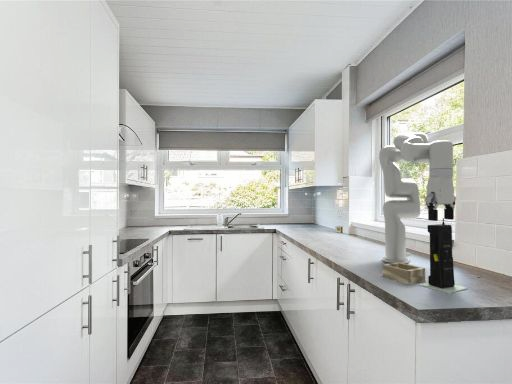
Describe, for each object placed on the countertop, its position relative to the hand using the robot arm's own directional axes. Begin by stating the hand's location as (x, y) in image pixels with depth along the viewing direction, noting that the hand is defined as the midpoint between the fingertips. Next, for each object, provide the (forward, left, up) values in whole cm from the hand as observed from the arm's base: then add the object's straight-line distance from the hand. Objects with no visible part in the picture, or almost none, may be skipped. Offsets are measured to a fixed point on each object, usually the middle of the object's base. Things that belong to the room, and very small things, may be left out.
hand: (441, 219), depth 109 cm
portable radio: (+1, 0, -25) cm, 25 cm away
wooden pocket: (+3, -14, -25) cm, 29 cm away
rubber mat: (0, 0, -25) cm, 25 cm away
